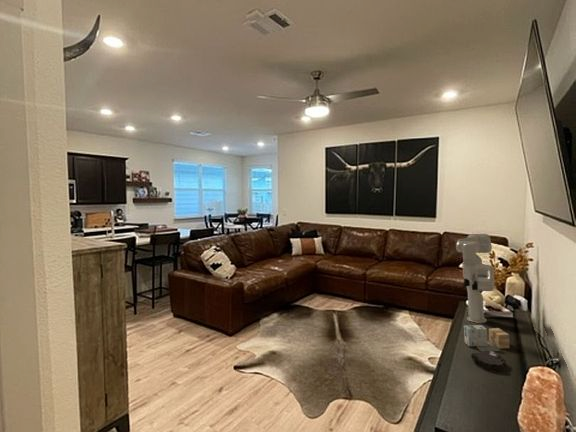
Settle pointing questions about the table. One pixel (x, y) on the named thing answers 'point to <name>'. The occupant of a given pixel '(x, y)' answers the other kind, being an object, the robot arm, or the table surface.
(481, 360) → the rock sample
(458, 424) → the table surface
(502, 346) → the tan block
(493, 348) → the grey mat
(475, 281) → the robot arm
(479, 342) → the light bulb box
